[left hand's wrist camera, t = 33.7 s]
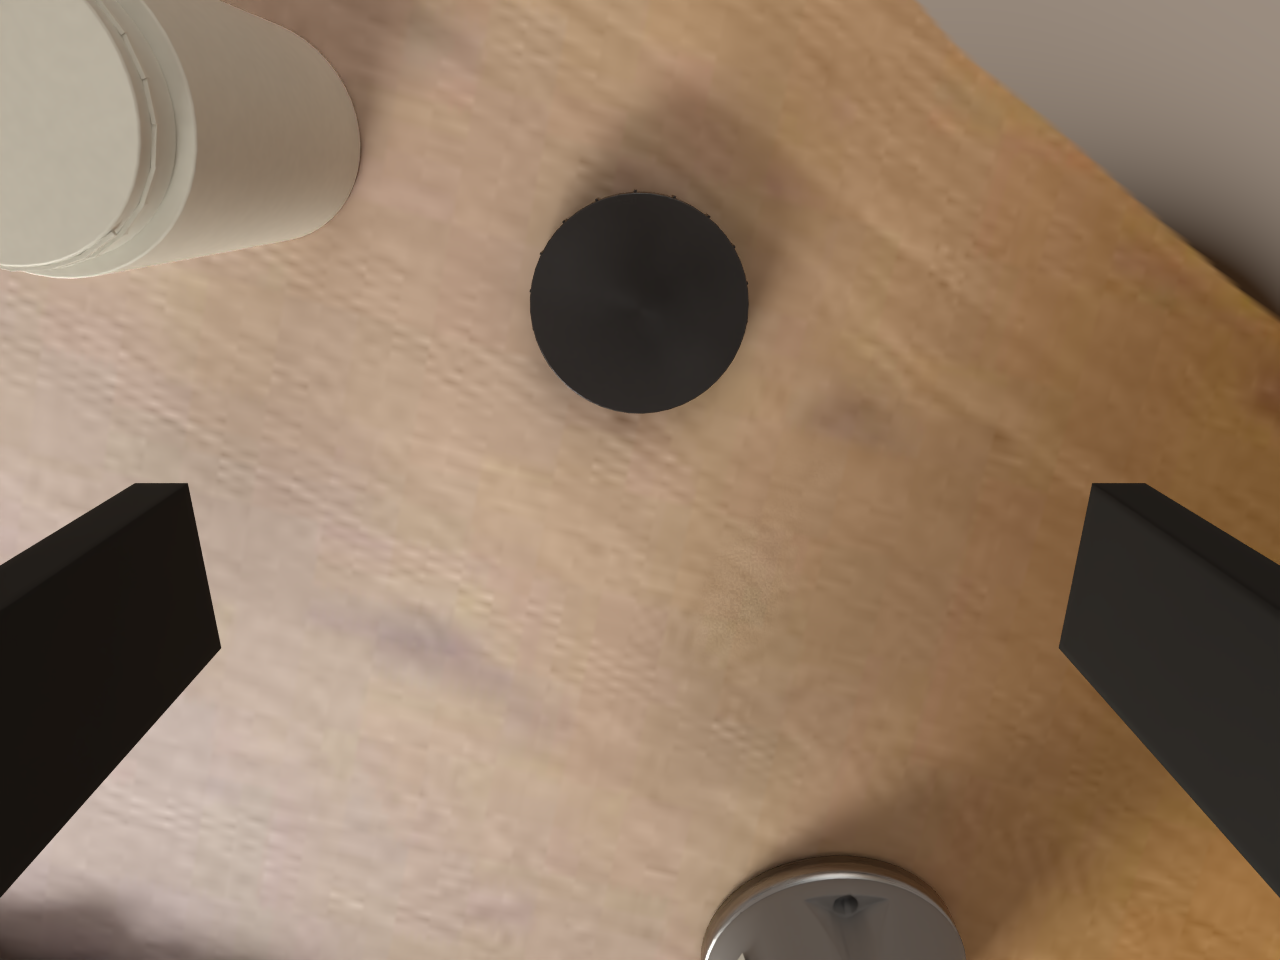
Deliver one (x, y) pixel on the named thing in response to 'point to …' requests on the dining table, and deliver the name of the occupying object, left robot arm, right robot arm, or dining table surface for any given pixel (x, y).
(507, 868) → the dining table surface
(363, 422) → the dining table surface
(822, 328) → the dining table surface
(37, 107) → the jar
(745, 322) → the lid
